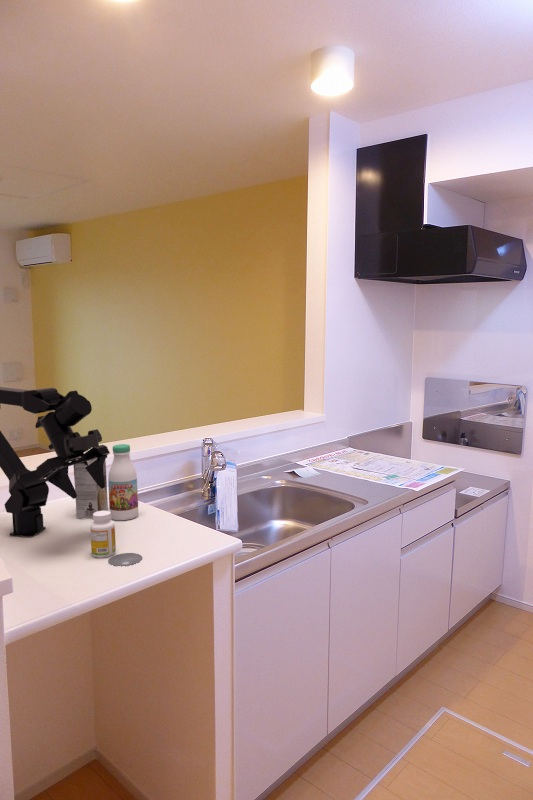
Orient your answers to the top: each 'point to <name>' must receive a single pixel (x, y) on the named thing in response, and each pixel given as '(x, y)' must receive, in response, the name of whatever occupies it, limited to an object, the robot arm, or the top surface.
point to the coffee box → (89, 492)
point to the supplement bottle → (102, 535)
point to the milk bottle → (122, 485)
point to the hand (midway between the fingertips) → (89, 492)
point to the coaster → (125, 559)
